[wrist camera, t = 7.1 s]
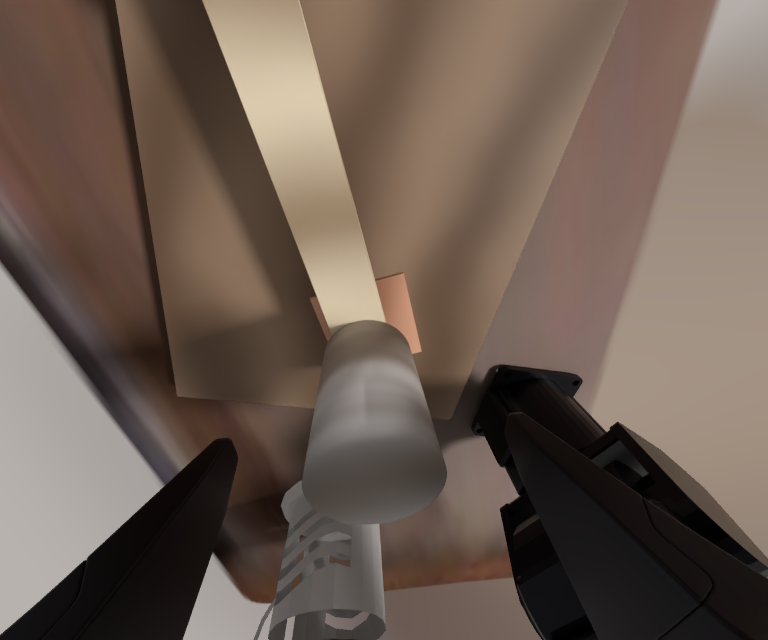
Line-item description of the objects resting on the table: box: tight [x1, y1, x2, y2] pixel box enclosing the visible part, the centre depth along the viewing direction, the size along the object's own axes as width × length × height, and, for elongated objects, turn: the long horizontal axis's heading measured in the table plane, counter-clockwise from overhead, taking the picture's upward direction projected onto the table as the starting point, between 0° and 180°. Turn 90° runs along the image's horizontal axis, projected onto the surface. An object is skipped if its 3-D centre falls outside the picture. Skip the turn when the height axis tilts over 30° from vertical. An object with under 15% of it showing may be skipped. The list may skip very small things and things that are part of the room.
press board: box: [115, 0, 629, 420], centre depth 13 cm, size 18×25×2 cm
